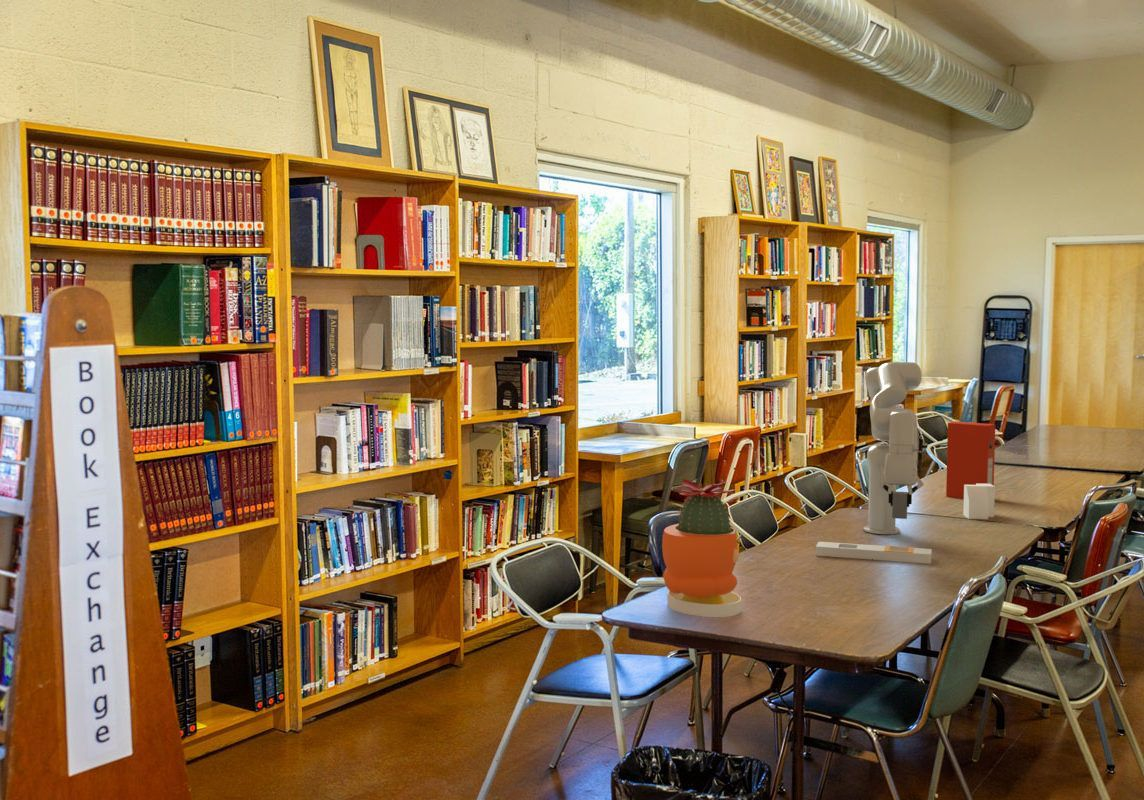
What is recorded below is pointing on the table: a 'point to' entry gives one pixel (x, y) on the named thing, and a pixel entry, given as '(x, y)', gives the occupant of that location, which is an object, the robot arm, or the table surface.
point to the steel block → (899, 505)
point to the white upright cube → (979, 501)
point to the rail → (874, 552)
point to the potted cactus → (701, 555)
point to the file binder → (969, 456)
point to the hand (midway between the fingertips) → (899, 505)
